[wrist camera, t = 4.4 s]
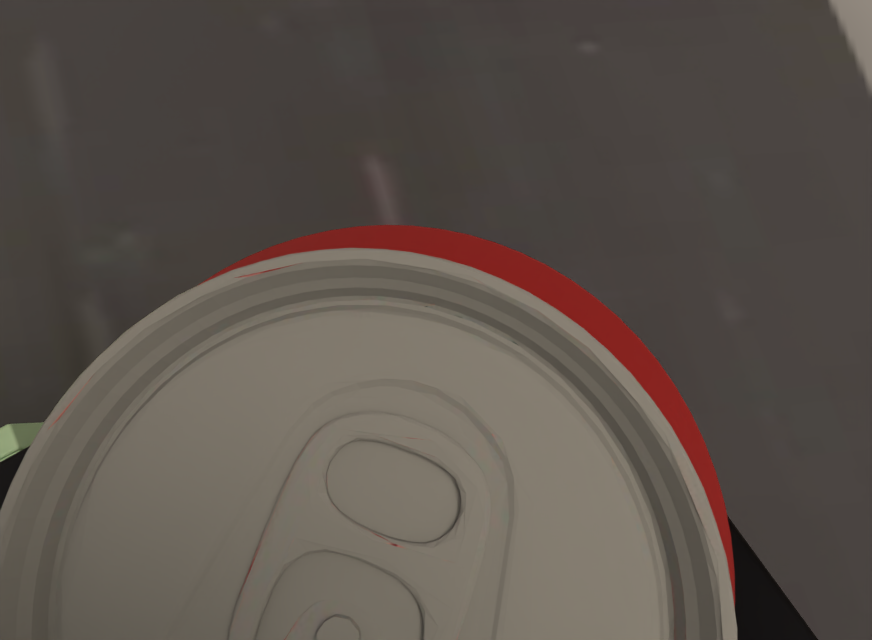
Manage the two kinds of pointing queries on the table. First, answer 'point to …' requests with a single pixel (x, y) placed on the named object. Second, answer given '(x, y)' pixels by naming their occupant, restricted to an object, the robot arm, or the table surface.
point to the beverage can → (371, 463)
